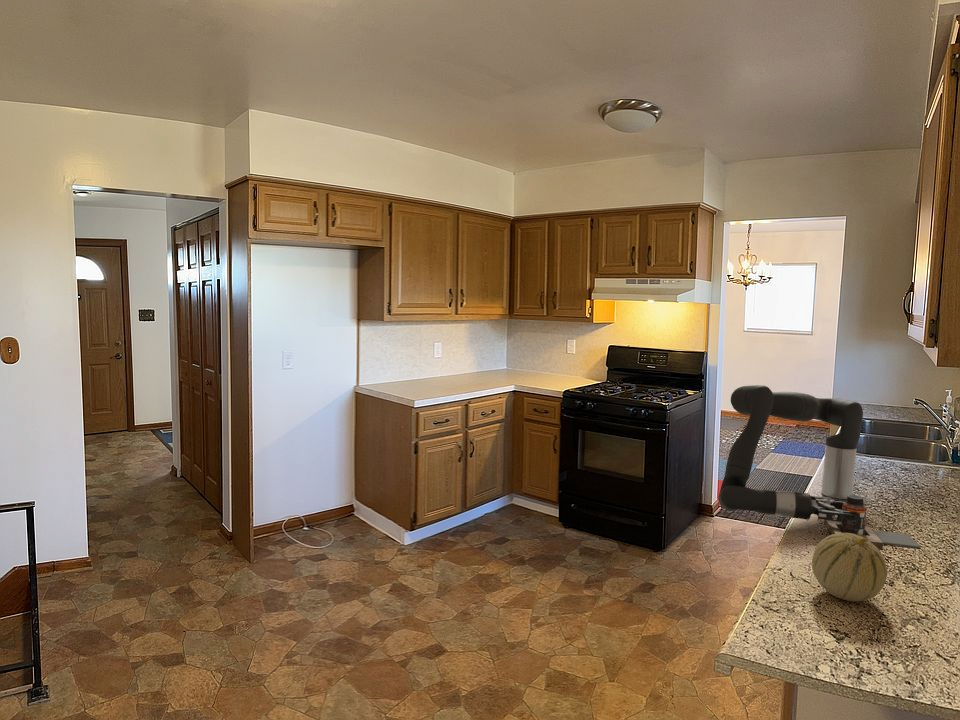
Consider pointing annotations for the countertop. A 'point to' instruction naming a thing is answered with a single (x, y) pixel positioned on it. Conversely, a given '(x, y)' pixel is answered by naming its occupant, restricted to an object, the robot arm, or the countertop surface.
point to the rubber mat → (896, 539)
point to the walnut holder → (868, 532)
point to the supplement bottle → (856, 505)
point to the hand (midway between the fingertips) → (853, 511)
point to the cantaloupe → (849, 567)
